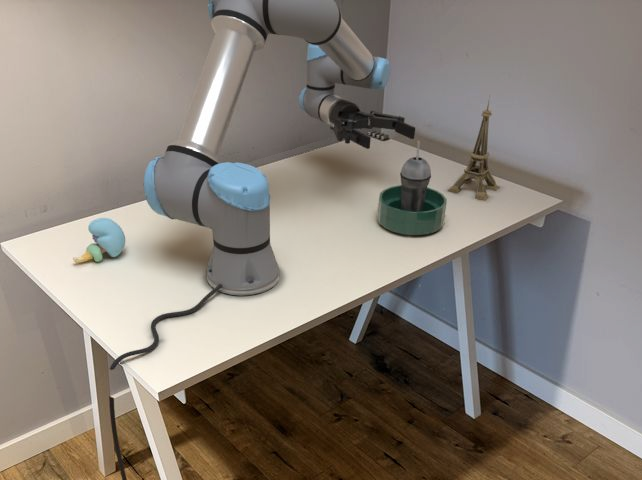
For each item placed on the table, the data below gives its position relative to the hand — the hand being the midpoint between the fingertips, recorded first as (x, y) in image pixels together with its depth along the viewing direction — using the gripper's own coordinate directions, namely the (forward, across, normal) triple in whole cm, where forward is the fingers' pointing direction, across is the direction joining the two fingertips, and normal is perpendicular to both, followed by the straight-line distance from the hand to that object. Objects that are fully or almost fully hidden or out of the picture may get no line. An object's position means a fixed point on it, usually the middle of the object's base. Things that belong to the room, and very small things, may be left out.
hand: (391, 138), depth 161 cm
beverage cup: (+10, 0, -18) cm, 20 cm away
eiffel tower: (+3, -28, -18) cm, 34 cm away
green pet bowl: (+10, 0, -18) cm, 20 cm away
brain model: (-12, +70, -19) cm, 74 cm away
